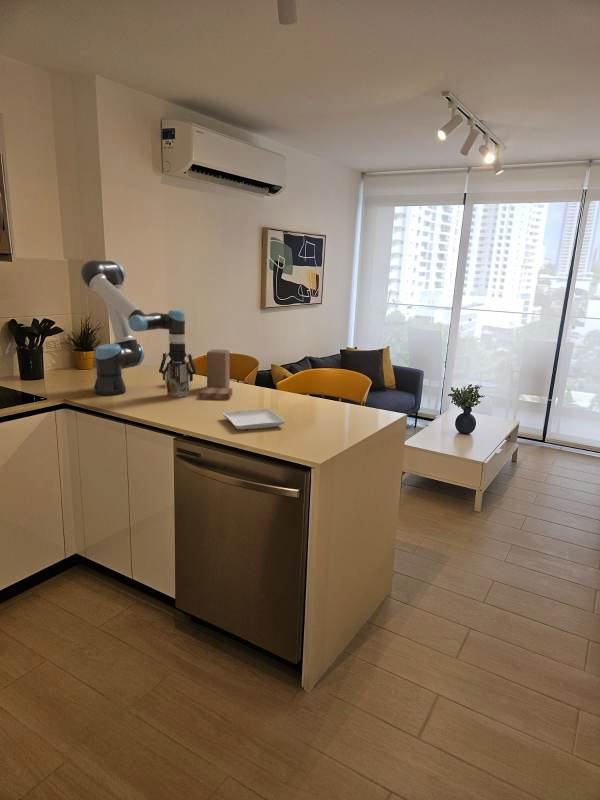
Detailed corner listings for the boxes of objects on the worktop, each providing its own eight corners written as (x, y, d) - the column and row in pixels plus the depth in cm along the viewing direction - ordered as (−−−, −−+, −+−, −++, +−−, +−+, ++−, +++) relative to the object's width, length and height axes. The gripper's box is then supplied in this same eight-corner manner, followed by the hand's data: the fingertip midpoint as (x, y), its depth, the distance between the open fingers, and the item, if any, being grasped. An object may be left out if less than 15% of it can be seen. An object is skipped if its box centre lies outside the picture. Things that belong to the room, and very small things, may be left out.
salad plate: (235, 433, 208) (235, 425, 208) (221, 419, 227) (221, 411, 226) (286, 429, 217) (286, 420, 216) (268, 415, 236) (268, 408, 235)
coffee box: (189, 395, 266) (189, 363, 262) (180, 397, 261) (179, 364, 257) (176, 392, 271) (175, 361, 267) (166, 394, 265) (166, 362, 261)
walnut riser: (200, 398, 260) (200, 392, 259) (204, 393, 271) (204, 387, 271) (229, 399, 260) (229, 393, 259) (232, 394, 271) (232, 388, 271)
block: (229, 386, 288) (230, 349, 284) (225, 390, 279) (225, 352, 274) (211, 385, 289) (211, 348, 285) (206, 389, 280) (206, 351, 275)
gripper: (151, 342, 256) (152, 388, 261) (199, 344, 256) (200, 389, 261) (155, 340, 263) (156, 384, 268) (202, 342, 263) (202, 386, 268)
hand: (178, 387), depth 265 cm, fingers closed on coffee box, 11 cm apart
